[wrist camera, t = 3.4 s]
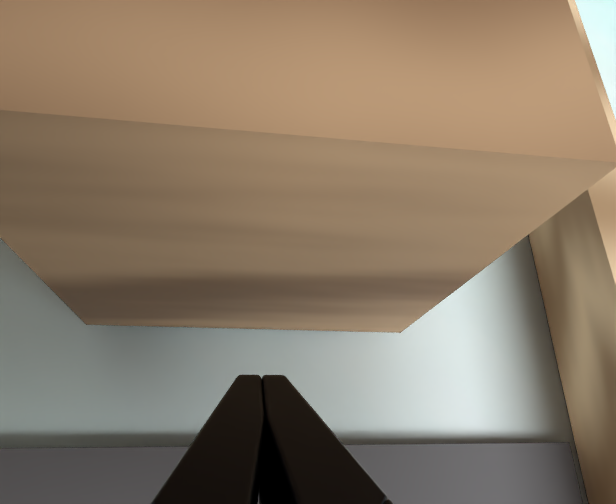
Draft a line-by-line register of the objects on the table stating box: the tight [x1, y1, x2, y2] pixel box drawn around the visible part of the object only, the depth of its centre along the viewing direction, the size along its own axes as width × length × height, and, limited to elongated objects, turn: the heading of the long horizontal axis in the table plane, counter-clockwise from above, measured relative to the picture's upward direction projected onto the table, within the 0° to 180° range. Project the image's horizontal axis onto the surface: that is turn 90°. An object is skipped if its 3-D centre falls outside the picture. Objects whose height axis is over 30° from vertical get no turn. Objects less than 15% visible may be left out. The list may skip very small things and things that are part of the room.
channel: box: [529, 0, 616, 504], centre depth 16 cm, size 28×26×4 cm
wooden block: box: [0, 0, 616, 333], centre depth 12 cm, size 5×10×10 cm, turn 91°
